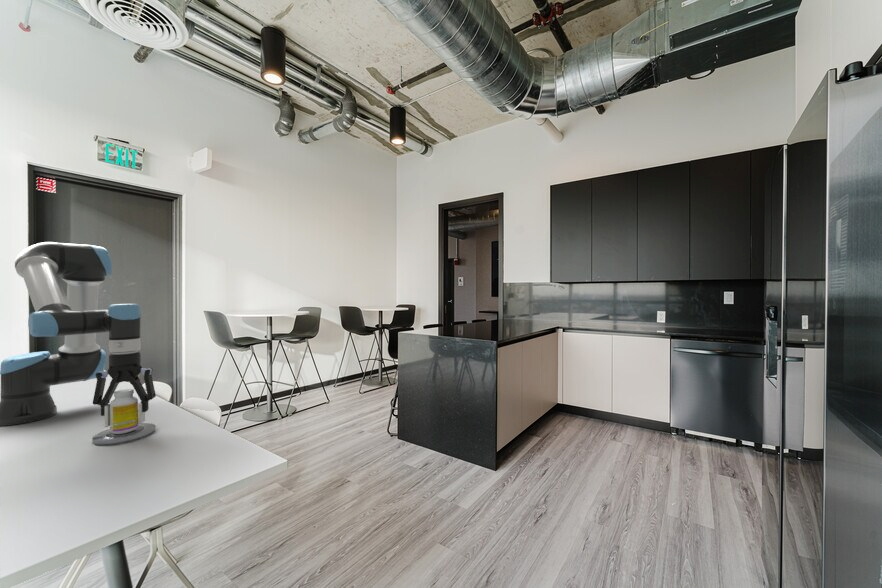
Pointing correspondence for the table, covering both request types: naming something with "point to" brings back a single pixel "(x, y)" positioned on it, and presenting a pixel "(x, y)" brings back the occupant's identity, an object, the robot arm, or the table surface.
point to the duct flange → (123, 435)
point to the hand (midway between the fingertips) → (125, 423)
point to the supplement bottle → (123, 412)
